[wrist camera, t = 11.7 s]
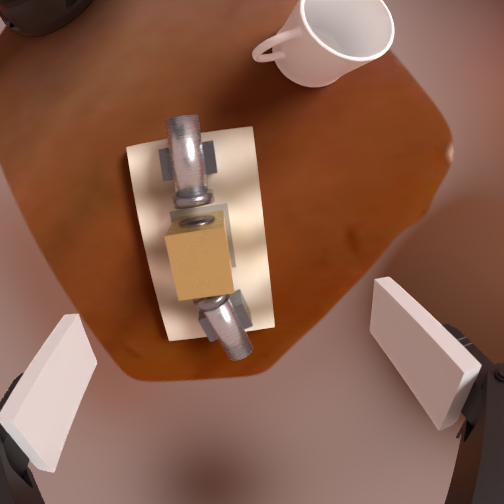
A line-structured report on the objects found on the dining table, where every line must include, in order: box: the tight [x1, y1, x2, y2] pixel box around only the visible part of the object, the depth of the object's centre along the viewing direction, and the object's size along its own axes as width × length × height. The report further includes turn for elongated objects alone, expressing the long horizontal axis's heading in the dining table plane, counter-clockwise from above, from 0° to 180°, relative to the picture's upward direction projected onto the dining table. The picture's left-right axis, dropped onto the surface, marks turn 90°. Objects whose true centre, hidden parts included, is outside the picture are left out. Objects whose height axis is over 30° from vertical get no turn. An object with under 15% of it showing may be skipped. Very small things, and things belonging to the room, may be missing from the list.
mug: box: [252, 0, 394, 87], centre depth 24 cm, size 12×8×12 cm
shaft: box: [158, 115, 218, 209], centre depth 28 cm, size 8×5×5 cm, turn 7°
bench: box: [126, 126, 275, 341], centre depth 35 cm, size 23×13×2 cm, turn 7°
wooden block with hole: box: [164, 210, 234, 301], centre depth 30 cm, size 6×5×7 cm
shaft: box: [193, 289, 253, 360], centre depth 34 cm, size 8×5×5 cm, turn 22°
